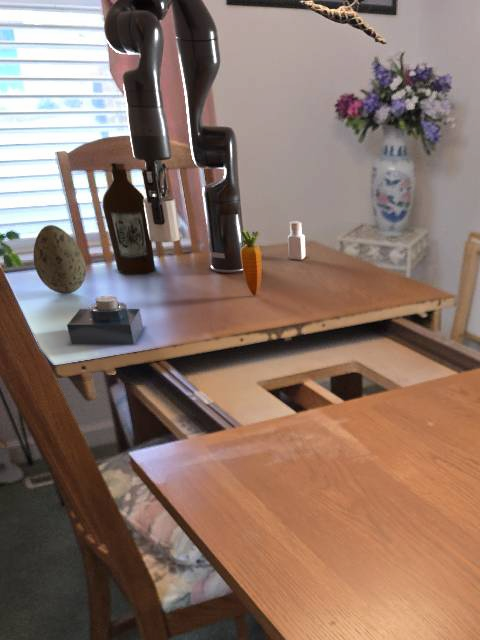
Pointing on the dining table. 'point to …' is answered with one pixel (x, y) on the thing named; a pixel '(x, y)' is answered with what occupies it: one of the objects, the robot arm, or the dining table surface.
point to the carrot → (251, 262)
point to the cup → (169, 228)
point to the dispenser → (105, 326)
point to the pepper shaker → (296, 241)
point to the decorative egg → (58, 260)
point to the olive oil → (127, 224)
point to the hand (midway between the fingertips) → (162, 220)
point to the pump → (106, 302)
